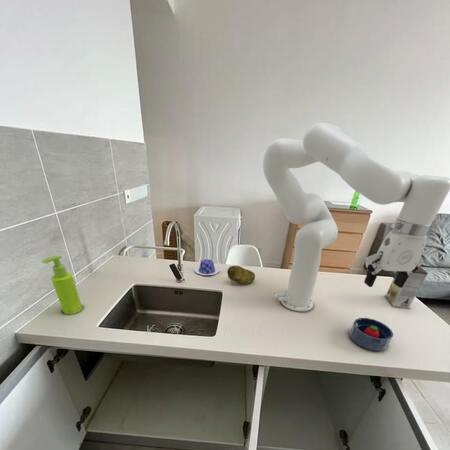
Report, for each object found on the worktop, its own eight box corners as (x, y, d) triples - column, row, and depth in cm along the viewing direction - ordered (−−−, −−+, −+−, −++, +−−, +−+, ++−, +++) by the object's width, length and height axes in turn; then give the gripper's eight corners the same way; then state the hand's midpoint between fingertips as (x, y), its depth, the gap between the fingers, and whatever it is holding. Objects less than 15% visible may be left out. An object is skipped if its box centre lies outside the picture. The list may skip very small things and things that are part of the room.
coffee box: (384, 295, 107) (400, 261, 98) (400, 297, 106) (417, 263, 97) (392, 306, 99) (410, 270, 91) (409, 309, 98) (429, 273, 90)
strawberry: (366, 343, 77) (372, 332, 75) (358, 334, 81) (363, 323, 78) (379, 343, 78) (385, 331, 75) (371, 334, 82) (376, 323, 79)
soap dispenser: (56, 313, 84) (35, 258, 73) (73, 303, 89) (56, 251, 79) (69, 317, 82) (49, 262, 72) (85, 307, 88) (70, 255, 77)
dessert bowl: (361, 352, 75) (367, 340, 72) (342, 329, 84) (347, 318, 81) (394, 351, 76) (401, 339, 73) (372, 329, 85) (378, 317, 83)
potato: (255, 287, 107) (257, 271, 103) (226, 286, 107) (227, 269, 103) (254, 279, 114) (256, 263, 110) (226, 277, 114) (227, 261, 110)
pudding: (189, 272, 117) (189, 262, 114) (202, 264, 126) (202, 254, 123) (211, 278, 112) (211, 268, 110) (223, 269, 121) (223, 259, 119)
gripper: (389, 231, 60) (362, 291, 69) (452, 234, 61) (418, 292, 71) (371, 222, 66) (349, 278, 75) (428, 225, 68) (400, 280, 77)
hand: (382, 285), depth 73 cm, fingers open, 9 cm apart
